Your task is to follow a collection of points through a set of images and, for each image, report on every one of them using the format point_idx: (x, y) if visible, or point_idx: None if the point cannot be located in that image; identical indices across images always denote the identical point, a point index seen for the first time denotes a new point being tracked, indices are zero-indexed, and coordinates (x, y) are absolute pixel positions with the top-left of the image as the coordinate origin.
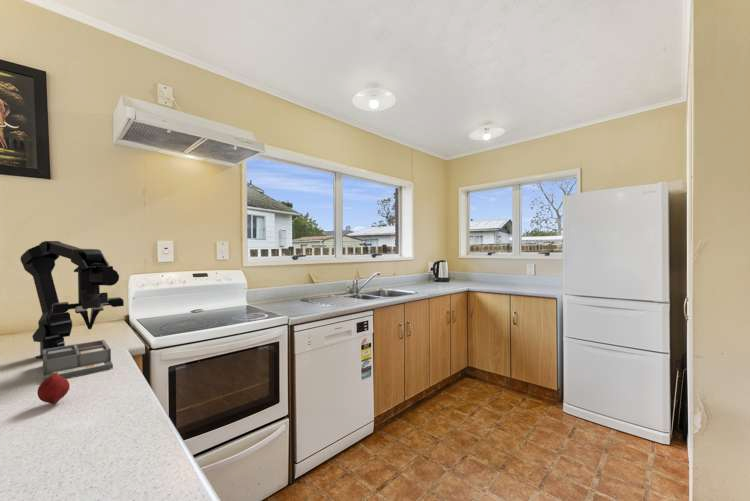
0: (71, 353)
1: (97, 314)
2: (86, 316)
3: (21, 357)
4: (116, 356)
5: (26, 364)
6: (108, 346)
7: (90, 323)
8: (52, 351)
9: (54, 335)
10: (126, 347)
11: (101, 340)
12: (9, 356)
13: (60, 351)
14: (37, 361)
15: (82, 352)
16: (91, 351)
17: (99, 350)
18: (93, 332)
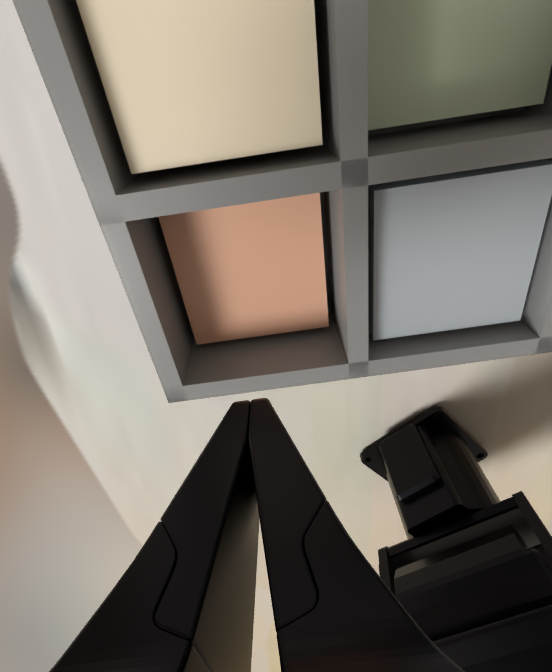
0: (389, 148)
1: (61, 661)
2: (311, 608)
3: (519, 484)
4: (93, 232)
5: (535, 369)
6: (39, 62)
7: (237, 458)
8: (495, 312)
9: (474, 538)
10: (88, 411)
11: (183, 389)
12: (544, 514)
13: (453, 275)
14: (488, 393)
15: (302, 83)
16: (219, 60)
17: (139, 43)
18: (277, 647)
